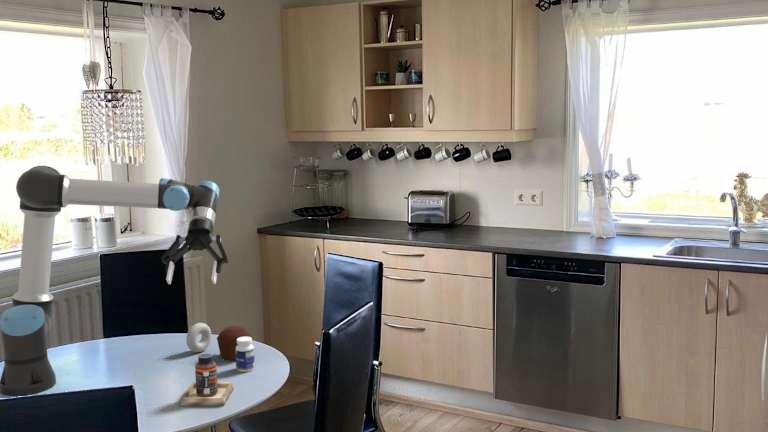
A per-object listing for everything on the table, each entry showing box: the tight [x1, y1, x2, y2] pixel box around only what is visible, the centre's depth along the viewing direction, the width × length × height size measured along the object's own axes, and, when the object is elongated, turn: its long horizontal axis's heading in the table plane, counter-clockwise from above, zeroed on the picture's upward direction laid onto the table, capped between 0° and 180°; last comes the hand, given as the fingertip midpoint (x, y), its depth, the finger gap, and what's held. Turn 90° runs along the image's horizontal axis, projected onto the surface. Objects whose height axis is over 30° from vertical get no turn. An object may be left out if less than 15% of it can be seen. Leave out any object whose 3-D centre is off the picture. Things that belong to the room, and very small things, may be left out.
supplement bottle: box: [194, 353, 218, 397], centre depth 213 cm, size 6×6×11 cm
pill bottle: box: [235, 336, 256, 373], centre depth 236 cm, size 6×6×10 cm
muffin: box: [216, 325, 253, 362], centre depth 248 cm, size 12×11×10 cm
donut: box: [185, 322, 212, 354], centre depth 253 cm, size 10×4×10 cm, turn 146°
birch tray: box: [179, 381, 234, 407], centre depth 214 cm, size 12×12×2 cm
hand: (190, 281), depth 226 cm, fingers open, 13 cm apart
